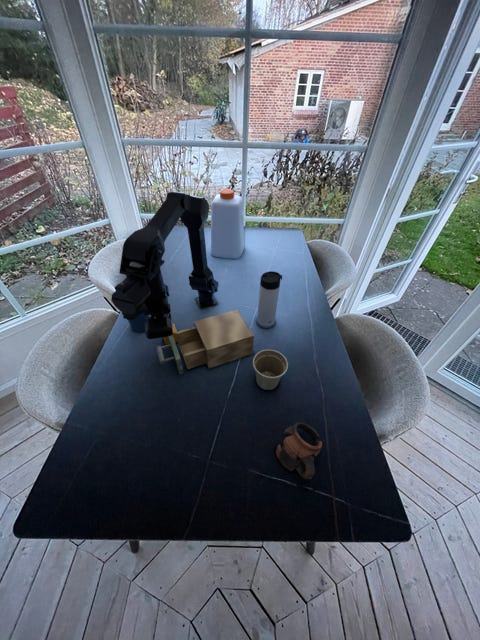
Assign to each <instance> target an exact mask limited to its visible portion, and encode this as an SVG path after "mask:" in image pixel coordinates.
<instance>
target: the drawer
mask: <svg viewBox="0 0 480 640" xmlns="http://www.w3.org/2000/svg"><path fill="white" fill-rule="evenodd" d="M176 334H177V339H178V342H177V343H178V347H179V349H178V347H177V344H176V343H175V341H174V338H173V335H171V336H168V337H169V342H170V344H169V345H162V346H161V345H157V346H156V347H155V349H156V352H157V357H158V360H159V363H160V365H165V364H166V362H170V361H173V360H174V361H175V364H176V368H177V371H178V374H179V375H183V374H184V368H183V364H182V359H181V356H180V353H179V350H180V352H181V355H182V358H183V361H184V364H185V367H186V369H187V370H190V369H193V368H196V367H199V366H202V365H205V364H206V365H207V363H208V362H207V353H206V349H205V346H204V344H203V342H202V340H201V337H200V335H199V333H198V330H197V328H196V327H195V326H193V327H189V328H186V329H182V330H179V331H178V330H177V332H176ZM168 348H171V352H172V355H173V356H170V357H167V358H166V357H165V354H164V350H165V349H168Z"/></svg>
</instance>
